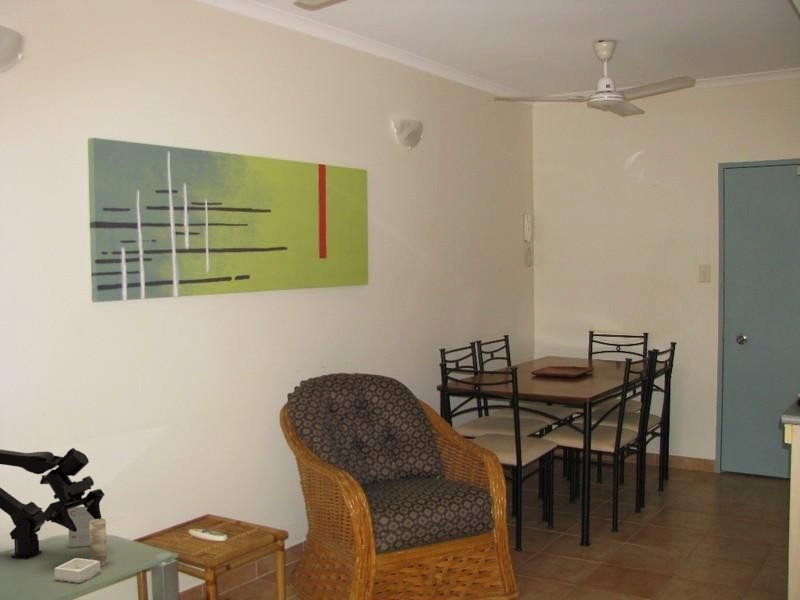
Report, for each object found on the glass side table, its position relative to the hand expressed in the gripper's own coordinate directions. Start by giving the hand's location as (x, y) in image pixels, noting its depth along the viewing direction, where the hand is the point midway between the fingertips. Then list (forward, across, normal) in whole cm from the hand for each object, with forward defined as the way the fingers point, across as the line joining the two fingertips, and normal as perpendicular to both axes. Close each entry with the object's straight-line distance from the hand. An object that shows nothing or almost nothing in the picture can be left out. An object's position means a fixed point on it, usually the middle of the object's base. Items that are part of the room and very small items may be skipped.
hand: (88, 526), depth 244 cm
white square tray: (+12, -10, +3) cm, 16 cm away
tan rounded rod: (+10, 0, +5) cm, 11 cm away
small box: (-3, +11, +18) cm, 21 cm away
